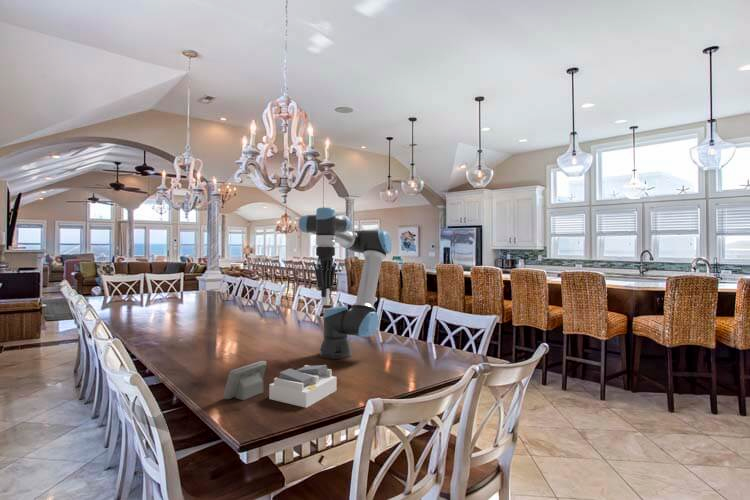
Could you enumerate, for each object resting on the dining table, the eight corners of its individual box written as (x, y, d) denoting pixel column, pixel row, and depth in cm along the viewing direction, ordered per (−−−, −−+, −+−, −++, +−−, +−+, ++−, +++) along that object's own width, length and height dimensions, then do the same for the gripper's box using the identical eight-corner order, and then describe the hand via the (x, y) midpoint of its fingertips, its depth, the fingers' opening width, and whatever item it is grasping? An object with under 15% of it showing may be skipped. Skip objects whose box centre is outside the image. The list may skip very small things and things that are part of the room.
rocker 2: (296, 376, 148) (295, 370, 149) (305, 372, 153) (305, 366, 153) (318, 375, 144) (317, 368, 144) (327, 370, 149) (326, 364, 149)
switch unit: (269, 398, 141) (269, 377, 140) (301, 383, 156) (301, 364, 156) (306, 407, 133) (306, 385, 133) (336, 390, 149) (336, 370, 149)
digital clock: (259, 385, 154) (259, 357, 154) (273, 391, 148) (273, 362, 148) (218, 397, 142) (218, 367, 142) (231, 404, 136) (231, 372, 136)
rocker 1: (279, 378, 141) (279, 372, 140) (289, 374, 145) (290, 368, 145) (301, 387, 136) (302, 381, 136) (311, 382, 141) (312, 376, 141)
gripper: (323, 246, 155) (323, 307, 155) (342, 246, 167) (342, 303, 167) (308, 246, 159) (308, 306, 159) (327, 246, 170) (327, 302, 170)
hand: (325, 304), depth 163 cm, fingers closed
